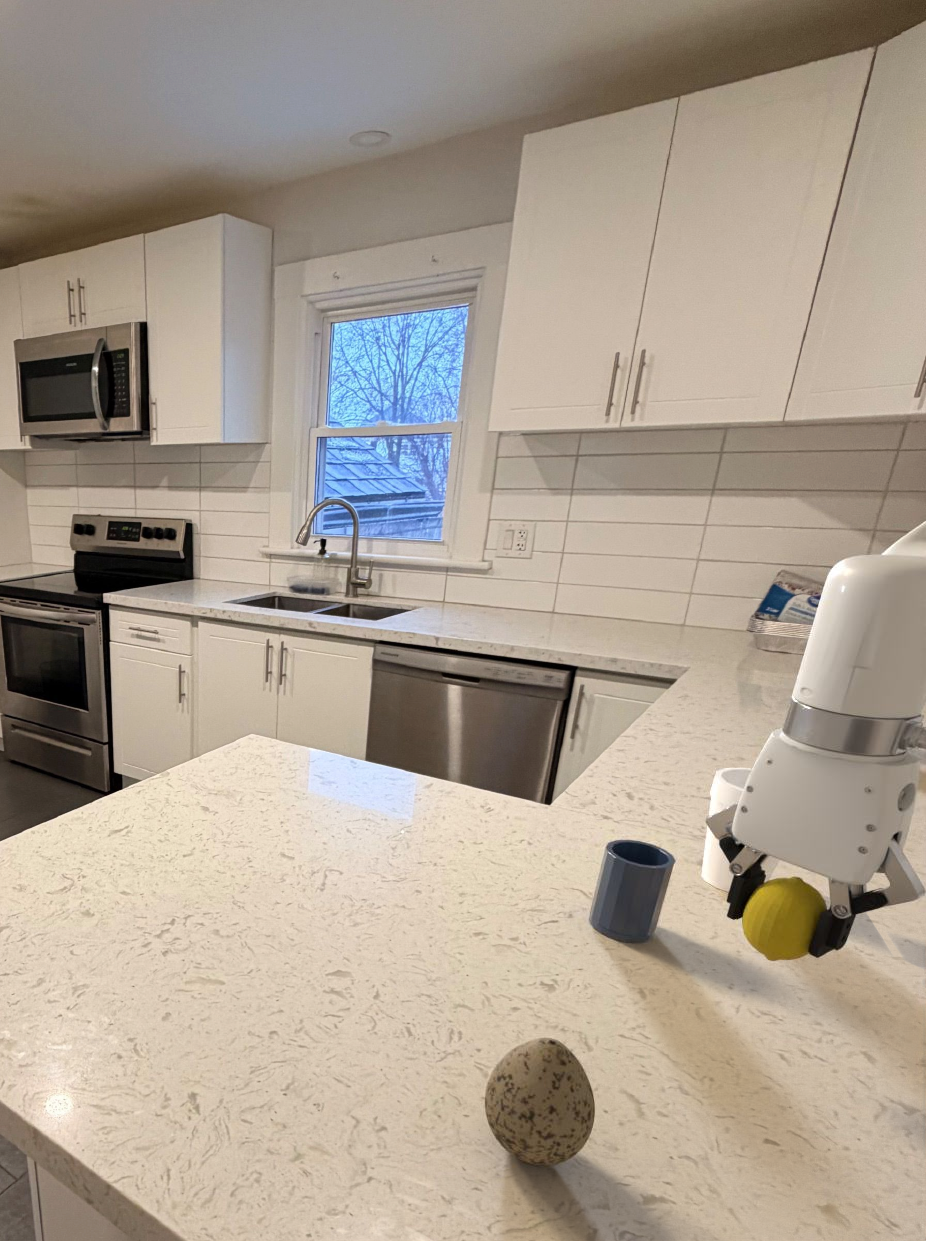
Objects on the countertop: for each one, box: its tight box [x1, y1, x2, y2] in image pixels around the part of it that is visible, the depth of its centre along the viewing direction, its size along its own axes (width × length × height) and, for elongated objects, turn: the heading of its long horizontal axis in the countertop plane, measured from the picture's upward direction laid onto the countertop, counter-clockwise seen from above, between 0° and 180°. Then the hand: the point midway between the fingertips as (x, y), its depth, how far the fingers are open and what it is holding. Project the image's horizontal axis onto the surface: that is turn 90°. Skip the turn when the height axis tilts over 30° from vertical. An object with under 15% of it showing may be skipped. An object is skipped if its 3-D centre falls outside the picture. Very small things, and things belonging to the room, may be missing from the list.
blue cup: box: [588, 839, 677, 944], centre depth 85 cm, size 6×6×9 cm
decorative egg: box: [484, 1037, 596, 1166], centre depth 57 cm, size 7×7×10 cm
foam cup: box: [701, 767, 781, 893], centre depth 93 cm, size 10×9×13 cm
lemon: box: [741, 876, 828, 962], centre depth 66 cm, size 6×6×8 cm
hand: (780, 930), depth 66 cm, fingers closed on lemon, 5 cm apart
